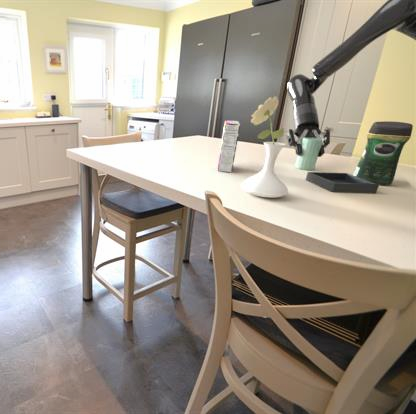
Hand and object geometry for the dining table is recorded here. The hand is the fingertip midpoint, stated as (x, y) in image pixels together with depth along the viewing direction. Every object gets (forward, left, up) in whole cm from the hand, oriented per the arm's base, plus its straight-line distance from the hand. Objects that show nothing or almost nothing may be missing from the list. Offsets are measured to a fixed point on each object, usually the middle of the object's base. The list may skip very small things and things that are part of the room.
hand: (310, 155), depth 102 cm
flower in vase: (+31, +30, -6) cm, 44 cm away
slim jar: (0, -2, -5) cm, 6 cm away
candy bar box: (+31, +2, -6) cm, 31 cm away
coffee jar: (-12, +14, -6) cm, 19 cm away
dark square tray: (+3, +20, -5) cm, 21 cm away
